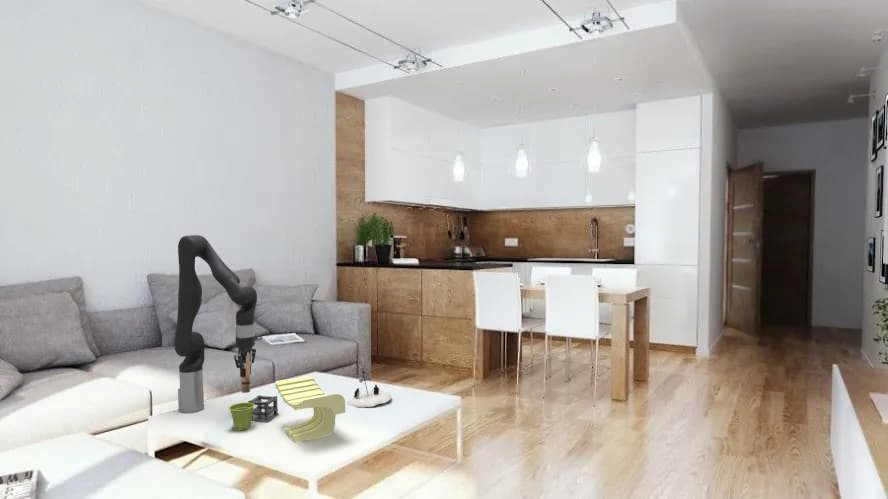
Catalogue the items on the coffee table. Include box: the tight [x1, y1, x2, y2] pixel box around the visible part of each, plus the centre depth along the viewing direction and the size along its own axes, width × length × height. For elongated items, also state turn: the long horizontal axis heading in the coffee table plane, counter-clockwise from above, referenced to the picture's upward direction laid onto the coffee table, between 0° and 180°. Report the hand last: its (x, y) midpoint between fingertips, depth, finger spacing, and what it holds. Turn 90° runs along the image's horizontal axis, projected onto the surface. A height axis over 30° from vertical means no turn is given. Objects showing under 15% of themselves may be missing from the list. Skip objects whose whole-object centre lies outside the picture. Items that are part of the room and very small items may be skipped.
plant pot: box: [228, 402, 255, 431], centre depth 227 cm, size 9×9×9 cm
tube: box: [240, 354, 251, 394], centre depth 242 cm, size 4×4×16 cm
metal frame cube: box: [247, 394, 279, 424], centre depth 238 cm, size 9×9×8 cm
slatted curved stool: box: [275, 375, 346, 443], centre depth 221 cm, size 30×16×18 cm, turn 34°
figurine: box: [346, 366, 392, 408], centre depth 258 cm, size 20×18×16 cm
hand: (245, 375), depth 242 cm, fingers closed on tube, 3 cm apart
